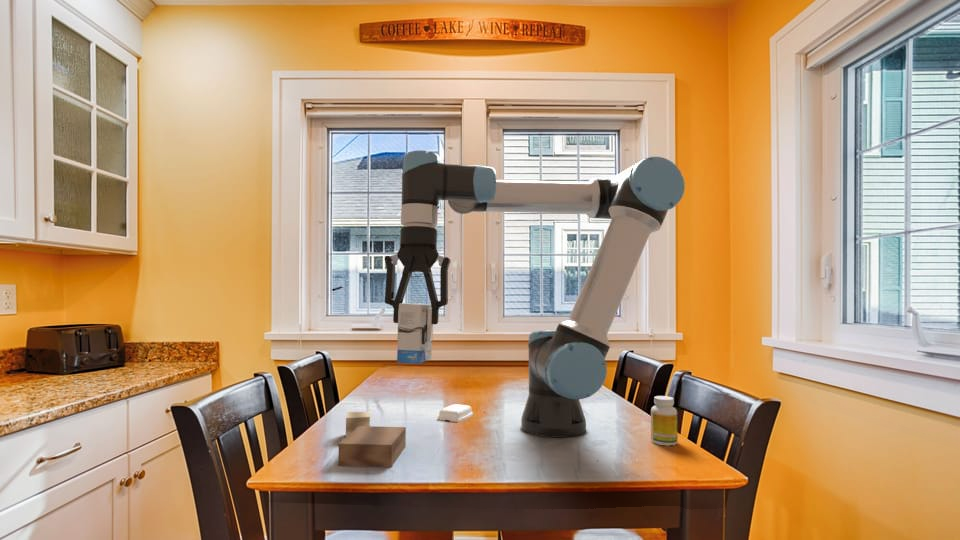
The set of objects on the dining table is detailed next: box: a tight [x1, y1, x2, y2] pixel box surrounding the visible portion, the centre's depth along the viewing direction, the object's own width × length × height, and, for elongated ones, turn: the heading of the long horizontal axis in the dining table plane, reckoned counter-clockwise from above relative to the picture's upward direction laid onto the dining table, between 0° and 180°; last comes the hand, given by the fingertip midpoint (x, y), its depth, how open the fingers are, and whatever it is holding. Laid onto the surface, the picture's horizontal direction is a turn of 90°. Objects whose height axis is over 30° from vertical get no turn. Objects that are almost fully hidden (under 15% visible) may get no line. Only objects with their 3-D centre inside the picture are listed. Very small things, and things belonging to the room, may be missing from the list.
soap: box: [437, 403, 474, 423], centre depth 127 cm, size 9×7×3 cm
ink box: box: [396, 302, 433, 365], centre depth 100 cm, size 8×5×12 cm, turn 168°
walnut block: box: [337, 425, 407, 468], centre depth 96 cm, size 10×12×4 cm
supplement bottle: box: [650, 395, 679, 447], centre depth 106 cm, size 5×5×10 cm
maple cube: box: [345, 410, 371, 438], centre depth 109 cm, size 5×5×5 cm
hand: (415, 339), depth 100 cm, fingers closed on ink box, 5 cm apart
